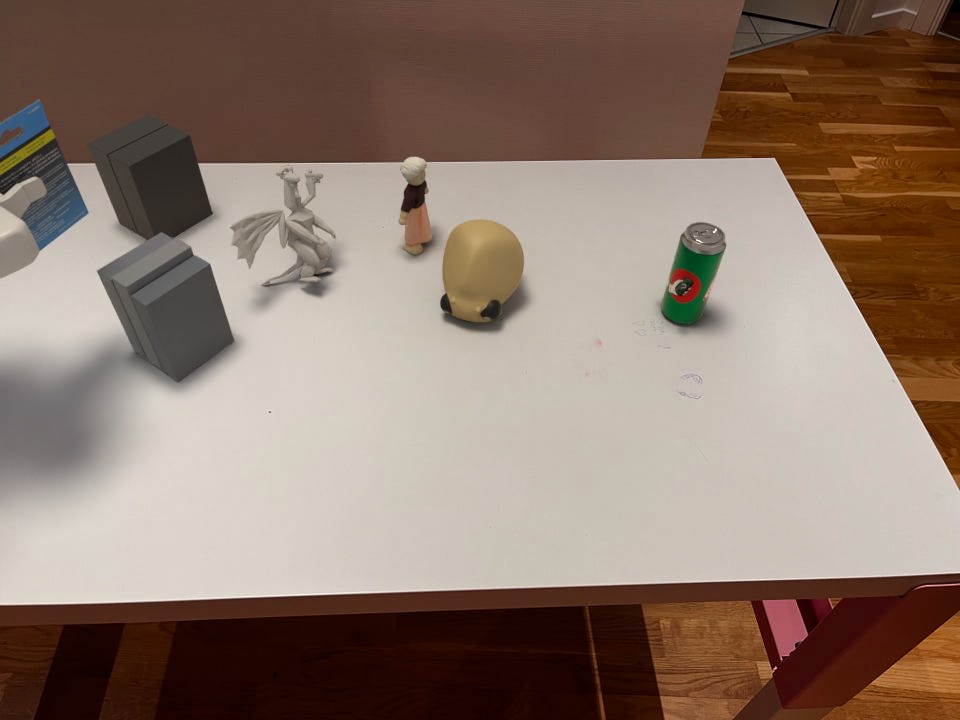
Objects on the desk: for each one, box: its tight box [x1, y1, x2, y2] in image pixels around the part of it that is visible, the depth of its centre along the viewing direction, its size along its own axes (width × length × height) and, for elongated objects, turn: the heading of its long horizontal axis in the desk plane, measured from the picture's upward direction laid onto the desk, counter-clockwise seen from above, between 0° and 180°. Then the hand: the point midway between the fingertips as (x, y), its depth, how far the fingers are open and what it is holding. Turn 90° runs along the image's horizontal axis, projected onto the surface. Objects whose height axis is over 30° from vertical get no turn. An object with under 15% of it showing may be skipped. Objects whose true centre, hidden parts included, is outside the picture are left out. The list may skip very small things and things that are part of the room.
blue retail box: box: [0, 99, 89, 253], centre depth 66 cm, size 9×4×12 cm, turn 158°
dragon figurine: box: [228, 163, 337, 286], centre depth 90 cm, size 10×18×14 cm, turn 168°
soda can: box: [660, 221, 727, 325], centre depth 86 cm, size 5×5×12 cm
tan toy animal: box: [439, 219, 525, 323], centre depth 88 cm, size 10×12×11 cm
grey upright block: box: [96, 232, 235, 383], centre depth 80 cm, size 8×8×12 cm
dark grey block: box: [86, 113, 214, 241], centre depth 96 cm, size 8×9×12 cm
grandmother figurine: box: [398, 156, 433, 256], centre depth 94 cm, size 8×4×13 cm, turn 171°
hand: (21, 170), depth 66 cm, fingers closed on blue retail box, 4 cm apart
